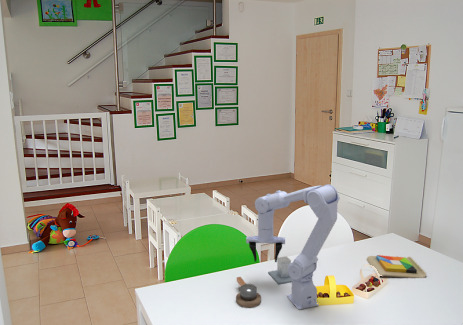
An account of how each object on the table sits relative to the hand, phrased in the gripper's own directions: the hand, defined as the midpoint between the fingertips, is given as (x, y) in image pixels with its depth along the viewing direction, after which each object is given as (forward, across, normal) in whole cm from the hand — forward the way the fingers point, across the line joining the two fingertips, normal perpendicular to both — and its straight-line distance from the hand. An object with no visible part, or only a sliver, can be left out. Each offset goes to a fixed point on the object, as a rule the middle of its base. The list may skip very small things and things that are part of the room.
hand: (265, 260), depth 158 cm
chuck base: (+10, +6, +12) cm, 17 cm away
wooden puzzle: (+10, -53, -17) cm, 57 cm away
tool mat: (+10, -8, -7) cm, 14 cm away
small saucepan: (+8, +7, +9) cm, 14 cm away
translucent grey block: (+9, -7, -6) cm, 13 cm away
